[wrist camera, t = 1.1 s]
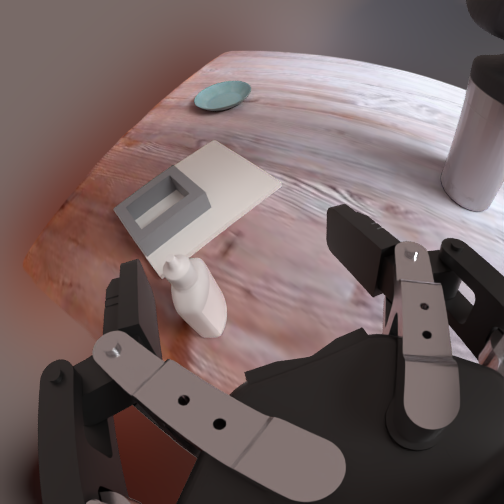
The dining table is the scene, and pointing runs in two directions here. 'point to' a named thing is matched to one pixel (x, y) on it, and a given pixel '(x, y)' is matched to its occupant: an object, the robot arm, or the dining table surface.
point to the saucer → (222, 95)
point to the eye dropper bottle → (196, 295)
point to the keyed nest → (193, 202)
